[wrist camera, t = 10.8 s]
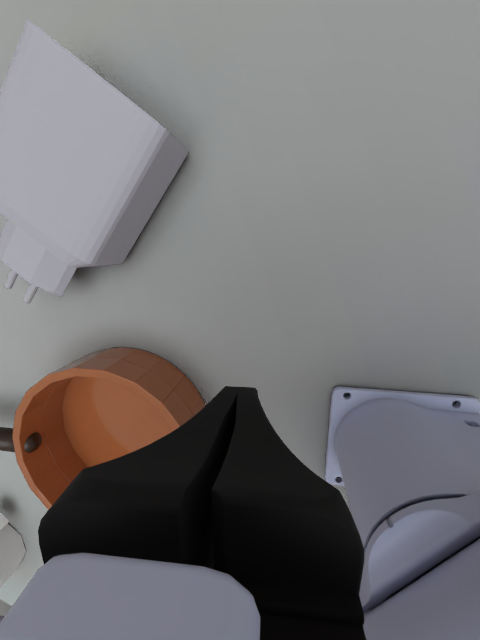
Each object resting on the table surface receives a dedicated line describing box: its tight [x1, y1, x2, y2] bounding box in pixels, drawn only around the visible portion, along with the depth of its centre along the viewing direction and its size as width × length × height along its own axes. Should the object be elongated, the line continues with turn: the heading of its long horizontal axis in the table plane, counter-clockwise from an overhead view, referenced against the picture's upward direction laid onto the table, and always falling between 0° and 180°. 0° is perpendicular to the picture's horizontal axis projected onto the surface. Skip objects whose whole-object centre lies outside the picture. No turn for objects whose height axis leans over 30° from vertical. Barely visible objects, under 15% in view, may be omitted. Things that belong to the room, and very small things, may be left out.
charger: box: [0, 19, 188, 303], centre depth 18 cm, size 5×9×15 cm
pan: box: [12, 348, 205, 509], centre depth 22 cm, size 14×14×4 cm
